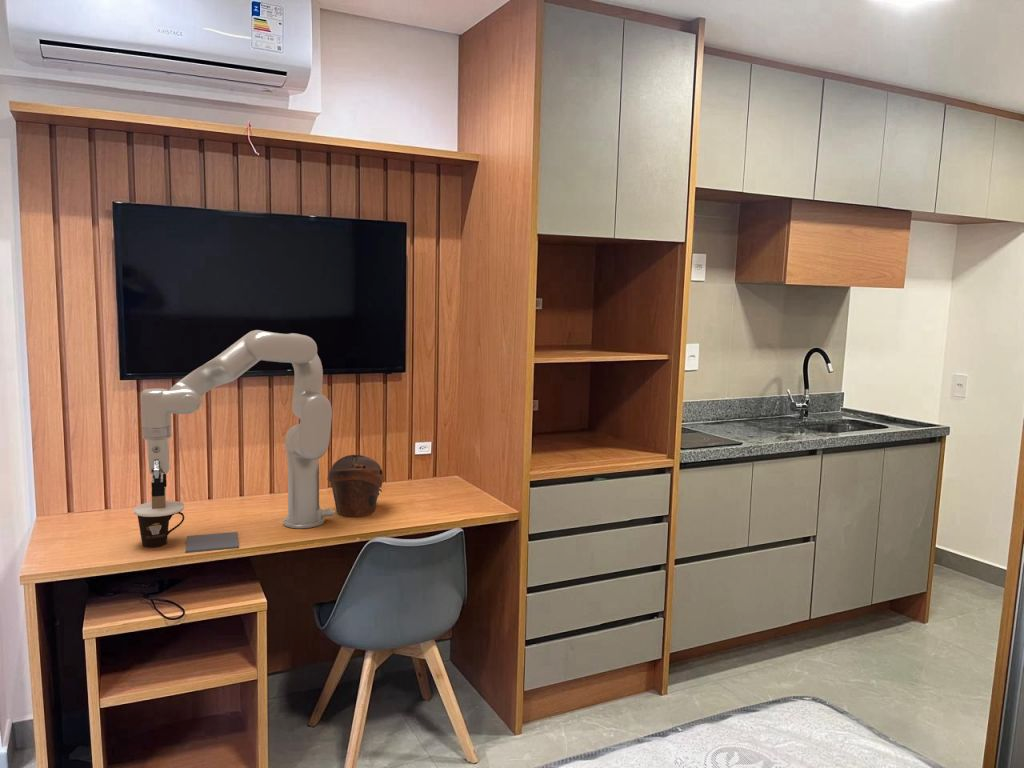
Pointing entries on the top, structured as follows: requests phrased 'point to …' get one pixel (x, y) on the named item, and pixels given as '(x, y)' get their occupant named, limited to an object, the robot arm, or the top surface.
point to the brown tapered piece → (355, 485)
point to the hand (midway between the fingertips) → (159, 491)
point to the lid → (158, 507)
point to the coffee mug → (155, 530)
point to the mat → (212, 542)
